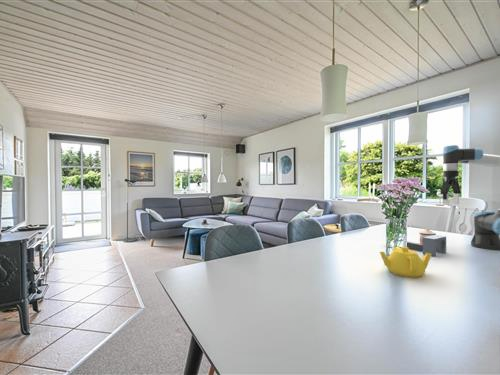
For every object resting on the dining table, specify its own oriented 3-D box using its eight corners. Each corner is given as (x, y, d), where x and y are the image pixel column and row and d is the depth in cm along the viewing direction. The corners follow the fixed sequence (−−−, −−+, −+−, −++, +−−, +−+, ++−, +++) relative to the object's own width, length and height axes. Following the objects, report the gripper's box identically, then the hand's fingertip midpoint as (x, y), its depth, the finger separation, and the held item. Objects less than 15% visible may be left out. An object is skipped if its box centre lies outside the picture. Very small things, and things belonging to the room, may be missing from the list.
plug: (392, 243, 172) (391, 235, 172) (426, 250, 152) (426, 241, 152) (386, 244, 169) (386, 236, 169) (421, 252, 150) (421, 242, 150)
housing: (434, 250, 152) (434, 234, 152) (446, 253, 147) (446, 236, 147) (422, 254, 146) (422, 237, 145) (434, 256, 140) (434, 239, 140)
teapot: (416, 282, 104) (416, 254, 104) (377, 271, 118) (377, 246, 118) (432, 273, 114) (432, 248, 114) (394, 264, 127) (394, 241, 127)
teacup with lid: (416, 245, 166) (416, 228, 166) (424, 243, 170) (423, 227, 170) (436, 249, 155) (436, 231, 155) (443, 247, 159) (443, 229, 159)
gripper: (448, 169, 144) (448, 205, 144) (467, 170, 156) (467, 203, 156) (433, 170, 151) (433, 204, 151) (453, 171, 163) (453, 203, 163)
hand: (450, 204), depth 154 cm, fingers open, 13 cm apart
